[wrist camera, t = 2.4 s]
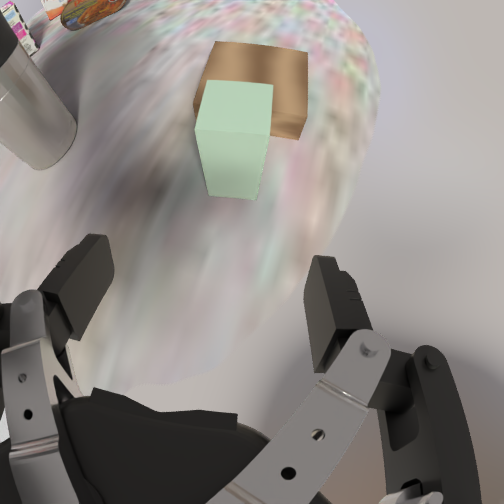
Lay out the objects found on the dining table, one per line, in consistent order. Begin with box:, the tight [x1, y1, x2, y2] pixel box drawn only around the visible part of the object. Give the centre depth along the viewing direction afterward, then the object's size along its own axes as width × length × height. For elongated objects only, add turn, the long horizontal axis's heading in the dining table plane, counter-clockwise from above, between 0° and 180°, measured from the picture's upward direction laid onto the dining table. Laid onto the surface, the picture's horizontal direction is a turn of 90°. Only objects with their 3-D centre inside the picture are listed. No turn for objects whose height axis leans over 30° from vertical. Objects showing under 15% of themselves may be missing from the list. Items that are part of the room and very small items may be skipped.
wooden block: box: [193, 41, 308, 140], centre depth 30 cm, size 12×12×5 cm
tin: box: [60, 0, 126, 30], centre depth 31 cm, size 15×3×8 cm, turn 114°
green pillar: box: [195, 80, 273, 200], centre depth 23 cm, size 5×5×12 cm
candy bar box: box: [0, 1, 39, 56], centre depth 26 cm, size 11×5×16 cm, turn 45°
